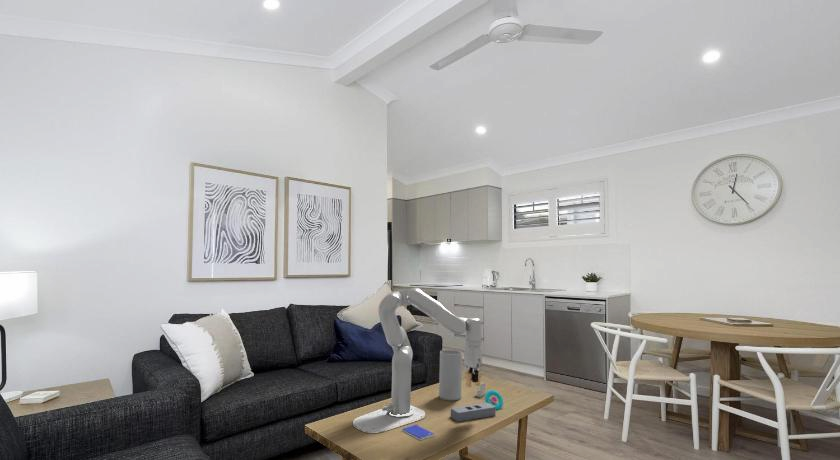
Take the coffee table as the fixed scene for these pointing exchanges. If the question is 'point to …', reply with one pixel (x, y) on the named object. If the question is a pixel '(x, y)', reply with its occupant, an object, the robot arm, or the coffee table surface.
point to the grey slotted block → (473, 411)
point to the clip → (469, 376)
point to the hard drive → (418, 432)
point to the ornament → (494, 399)
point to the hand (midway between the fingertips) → (473, 380)
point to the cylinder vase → (450, 374)
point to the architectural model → (481, 390)
